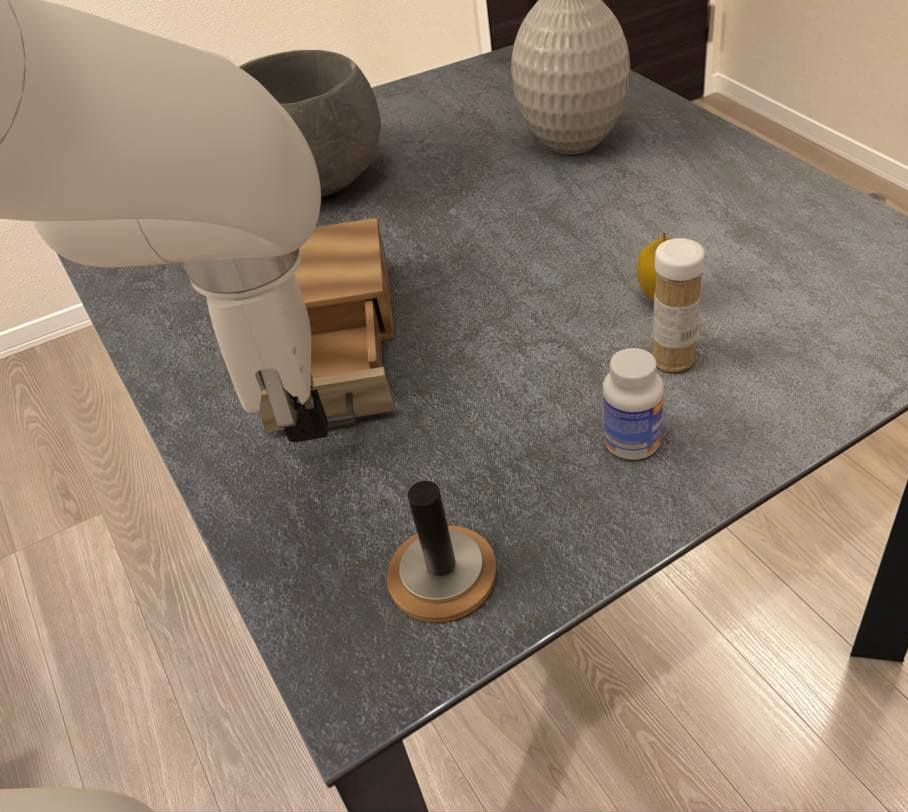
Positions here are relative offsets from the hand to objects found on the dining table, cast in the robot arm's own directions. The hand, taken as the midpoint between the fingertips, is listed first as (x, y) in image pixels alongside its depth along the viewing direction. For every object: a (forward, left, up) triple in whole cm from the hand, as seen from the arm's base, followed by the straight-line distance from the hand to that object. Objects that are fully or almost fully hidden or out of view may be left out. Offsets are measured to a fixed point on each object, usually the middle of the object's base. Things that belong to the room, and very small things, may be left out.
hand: (309, 432), depth 69 cm
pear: (+21, -37, -9) cm, 43 cm away
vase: (+60, -35, -9) cm, 70 cm away
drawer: (+14, 0, -8) cm, 16 cm away
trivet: (-10, -9, -9) cm, 16 cm away
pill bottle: (+1, -28, -9) cm, 29 cm away
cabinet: (+29, 0, -9) cm, 30 cm away
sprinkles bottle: (+11, -35, -9) cm, 38 cm away
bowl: (+60, +2, -9) cm, 60 cm away
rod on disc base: (-10, -9, -8) cm, 16 cm away
